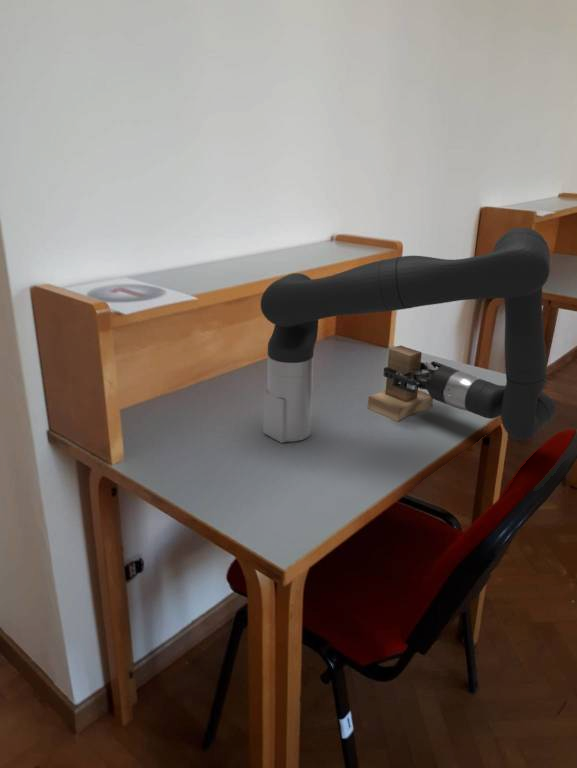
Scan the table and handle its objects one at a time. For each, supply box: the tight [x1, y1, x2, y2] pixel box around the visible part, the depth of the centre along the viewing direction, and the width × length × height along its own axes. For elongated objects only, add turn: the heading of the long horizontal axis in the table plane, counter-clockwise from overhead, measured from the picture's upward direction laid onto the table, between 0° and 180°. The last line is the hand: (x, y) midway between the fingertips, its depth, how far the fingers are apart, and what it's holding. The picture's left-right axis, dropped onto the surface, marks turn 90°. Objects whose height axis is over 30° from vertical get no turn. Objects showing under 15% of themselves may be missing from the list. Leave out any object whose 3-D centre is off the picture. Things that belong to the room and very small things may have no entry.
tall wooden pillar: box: [385, 345, 423, 402], centre depth 144 cm, size 4×6×11 cm, turn 40°
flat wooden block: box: [367, 389, 434, 422], centre depth 146 cm, size 12×9×3 cm
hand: (397, 367), depth 145 cm, fingers open, 8 cm apart
